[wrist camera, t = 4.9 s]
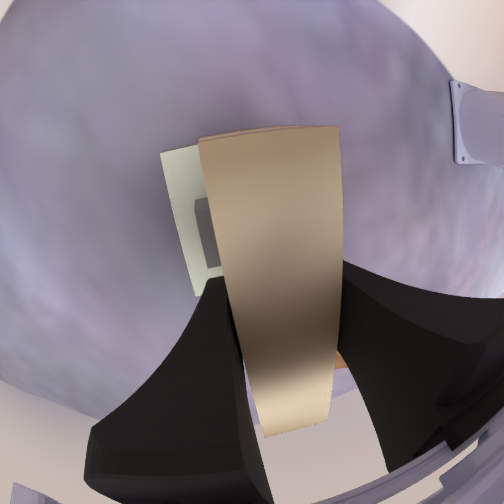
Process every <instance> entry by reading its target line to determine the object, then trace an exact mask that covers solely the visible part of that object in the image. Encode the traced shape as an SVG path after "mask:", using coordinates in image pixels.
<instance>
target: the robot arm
mask: <svg viewBox="0 0 504 504" xmlns="http://www.w3.org/2000/svg"><path fill="white" fill-rule="evenodd" d="M450 85H451V93H452V102H453V114H454V133H455V161H456V163H458V164H492V165H495V166H498V167H501V168H504V93H503V92H493V91H484V90H481V89H479V88H476V87H474V86H471V85H468V84H466V83H462V82H460V81H457V80H451V82H450ZM337 350H338V352H339V354H340V355H341V357H342V358H343V360H344V362H345V363H346V365H347V366H348V368H349V370H350V372H351V374H352V375H353V377H354V380H355V382H356V384H357V386H358V388H359V391H360V393H361V395H362V397H363V400H364V402H365V405H366V407H367V410H368V412H369V414H370V417H371V419H372V422H373V425H374V428H375V431H376V433H377V436H378V439H379V443H380V446H381V449H382V453H383V456H384V459H385V463H386V467H387V469H388V472H389V474H387V475H385V476H383V477H381V478H379V479H377V480H374V481H372V482H370V483H368V484H365V485H363V486H361V487H358V488H356V489H353V490H351V491H348V492H346V493H343V494H340V495H337V496H335V497H332V498H329V499H326V500H323V501H319V502H316V503H313V504H377V503H379V502H381V501H383V500H385V499H387V498H389V497H391V496H393V495H395V494H397V493H399V492H400V491H403V490H405V489H406V488H408V487H410V486H411V485H413V484H415V483H417V482H418V481H420V480H422V479H423V478H425V477H426V476H428V475H430V474H431V473H432V472H434V471H436V470H437V469H439V468H440V467H442V466H443V465H444V464H446V463H447V462H449V461H450V460H451V459H453V458H454V457H455V456H457V455H458V454H459V453H461V452H462V451H463V450H465V449H466V448H467V447H468V446H470V445H471V444H472V443H473V442H474V441H475V440H477V439H478V438H479V439H478V445H477V448H476V449H475V450H473V451H472V452H471V453H470V454H469V455H467V456H466V457H465V458H464V459H463V460H461V461H460V462H459V463H458V464H456V465H455V466H453V467H452V468H451V469H449V470H448V471H447V472H445V473H444V474H442V475H441V476H440V478H439V480H440V482H441V483H442V485H443V488H441V489H440V490H438V491H437V492H435V493H434V494H432V495H430V496H429V497H427V498H426V499H424V500H423V501H421V502H419V503H417V504H504V298H471V297H461V296H454V295H447V294H442V293H437V292H432V291H427V290H423V289H419V288H416V287H412V286H409V285H405V284H402V283H399V282H396V281H393V280H390V279H388V278H385V277H382V276H380V275H377V274H374V273H372V272H370V271H367V270H365V269H362V268H360V267H358V266H355V265H353V264H351V263H348V262H346V261H344V260H343V269H342V292H341V309H340V322H339V334H338V344H337ZM84 481H85V482H86V483H87V485H89V487H90V488H92V489H94V490H95V491H97V492H98V493H100V494H102V495H104V496H106V497H108V498H111V499H113V500H115V501H117V502H119V503H122V504H274V501H273V497H272V494H271V490H270V487H269V483H268V480H267V476H266V473H265V469H264V465H263V461H262V458H261V454H260V450H259V446H258V442H257V438H256V434H255V430H254V426H253V422H252V417H251V413H250V409H249V404H248V398H247V391H246V382H245V374H244V365H243V356H242V351H241V347H240V343H239V339H238V335H237V330H236V326H235V322H234V318H233V314H232V309H231V305H230V301H229V296H228V292H227V288H226V283H225V279H224V276H219V277H214V278H209V279H208V280H207V282H206V284H205V287H204V290H203V293H202V295H201V298H200V300H199V302H198V304H197V307H196V309H195V311H194V313H193V315H192V317H191V319H190V321H189V323H188V324H187V326H186V328H185V330H184V332H183V333H182V335H181V337H180V338H179V340H178V341H177V343H176V344H175V346H174V347H173V349H172V350H171V352H170V353H169V354H168V356H167V357H166V358H165V360H164V361H163V362H162V363H161V365H160V366H159V367H158V368H157V369H156V371H155V372H154V373H153V374H152V375H151V376H150V378H149V379H148V380H147V381H146V382H145V383H144V384H143V385H142V386H141V387H140V388H139V389H138V390H137V391H136V392H135V393H134V394H132V395H131V396H130V397H129V398H128V399H127V400H126V401H125V402H124V403H122V404H121V405H120V406H119V407H118V408H116V409H115V410H114V411H113V412H111V413H110V414H109V415H107V416H106V417H105V418H104V419H102V420H101V421H100V422H98V423H97V424H96V425H94V426H93V427H92V428H91V432H90V436H89V440H88V446H87V453H86V460H85V469H84ZM10 504H61V503H58V502H57V501H56V500H54V499H52V498H50V497H48V496H46V495H44V494H41V493H39V492H37V491H35V490H32V489H30V488H27V487H25V486H22V485H20V484H18V483H13V487H12V494H11V501H10Z"/></svg>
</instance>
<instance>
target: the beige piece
mask: <svg viewBox="0 0 504 504" xmlns="http://www.w3.org/2000/svg"><path fill="white" fill-rule="evenodd" d="M198 149H199V154H200V160H201V165H202V171H203V176H204V182H205V187H206V192H207V197H208V202H209V207H210V212H211V217H212V222H213V227H214V232H215V237H216V242H217V246H218V251H219V256H220V260H221V265H222V270H223V274H224V279H225V283H226V288H227V292H228V296H229V301H230V305H231V309H232V314H233V318H234V322H235V326H236V330H237V335H238V339H239V343H240V347H241V351H242V355H243V359H244V363H245V367H246V371H247V375H248V379H249V382H250V386H251V390H252V394H253V398H254V401H255V405H256V409H257V412H258V416H259V420H260V423H261V427H262V430H263V434H264V437H265V438H266V437H270V436H274V435H278V434H283V433H287V432H290V431H294V430H298V429H301V428H305V427H308V426H311V425H315V424H318V423H321V422H324V421H326V420H327V416H328V410H329V405H330V399H331V392H332V385H333V378H334V370H335V362H336V353H337V344H338V334H339V322H340V309H341V292H342V269H343V193H342V170H341V154H340V141H339V130H338V126H316V125H291V126H271V127H263V128H255V129H247V130H240V131H234V132H228V133H222V134H216V135H210V136H205V137H200V138H199V140H198Z"/></svg>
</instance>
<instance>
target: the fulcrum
mask: <svg viewBox="0 0 504 504" xmlns="http://www.w3.org/2000/svg"><path fill="white" fill-rule="evenodd" d="M160 156H161V161H162V166H163V171H164V175H165V180H166V185H167V189H168V193H169V198H170V202H171V206H172V211H173V215H174V219H175V223H176V227H177V231H178V235H179V239H180V242H181V246H182V250H183V254H184V257H185V261H186V265H187V268H188V272H189V275H190V279H191V282H192V286H193V289H194V292H195V296H201V295H202V293H203V290H204V287H205V284H206V282H207V280H208V279H209V278H214V277H219V276H224V274H223V270H222V265H221V260H220V256H219V251H218V246H217V242H216V237H215V232H214V227H213V222H212V217H211V212H210V207H209V202H208V197H207V192H206V187H205V182H204V176H203V171H202V165H201V160H200V154H199V149H198V145H193V146H188V147H184V148H179V149H175V150H170V151H166V152H162V153H160Z"/></svg>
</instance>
